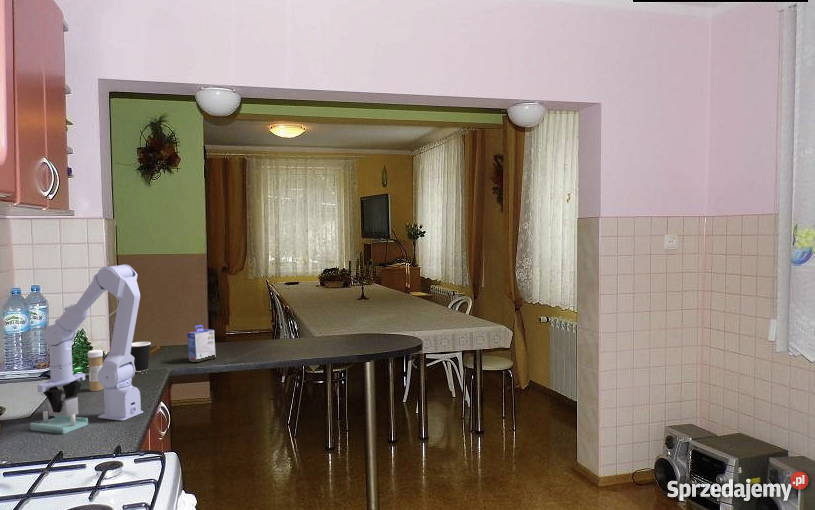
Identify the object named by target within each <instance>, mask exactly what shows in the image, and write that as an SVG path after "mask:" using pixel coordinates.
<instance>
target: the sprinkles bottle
mask: <svg viewBox="0 0 815 510" xmlns="http://www.w3.org/2000/svg"><path fill="white" fill-rule="evenodd" d="M103 356H104V353H103V349H92V350H89V351H87V358H88V380H89V391H91V392H96V391H97V392H98V391H103V390H104V388H103V386H102V385H101V384H100V383H99V381H98V372H99V370H100V369H101V368H102V366H103V361H104V360H103Z"/></svg>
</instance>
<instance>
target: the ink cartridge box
mask: <svg viewBox="0 0 815 510" xmlns="http://www.w3.org/2000/svg"><path fill="white" fill-rule="evenodd" d="M194 329H195V331H191V332H188V333H186V335H187V337H186V338H187V349H188V350H187V352H188V360H189V359H196V360H197V359H201V358H205V357H208V356H212V355H215V356H216V342H215V329H209V328H206V329H204V327H203V325H202V324H198V325H194Z"/></svg>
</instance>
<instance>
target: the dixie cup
mask: <svg viewBox="0 0 815 510" xmlns="http://www.w3.org/2000/svg"><path fill="white" fill-rule="evenodd" d="M151 344H152V343H151V341H136V342H132V346H131V352H130V354H131V355H132V356H133V357H134V358H135V359H134V366H135V372H141V371H145V370H148V371H149V367H150V365H149V364H150V353H151V352H150V351H151V349H150V348H151Z"/></svg>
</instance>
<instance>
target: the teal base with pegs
mask: <svg viewBox="0 0 815 510" xmlns="http://www.w3.org/2000/svg"><path fill="white" fill-rule="evenodd" d="M42 419H43V420H42V422H41V421H40V422H38V423H36V422H30V425H29V426H30V430H32V431H37V432H44V433H51V434H52V433H53V434H60V435H64V434H67V433H70V432H72V431H75V430H77V429H80V428H82V427H86V426H88V425H89V419H88V417H82V416H81V417H79V416H76V415H75V414H71V415H70V416H65V415H55V416H54V417H53V418H50V419H49V410H44V411H42Z"/></svg>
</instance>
